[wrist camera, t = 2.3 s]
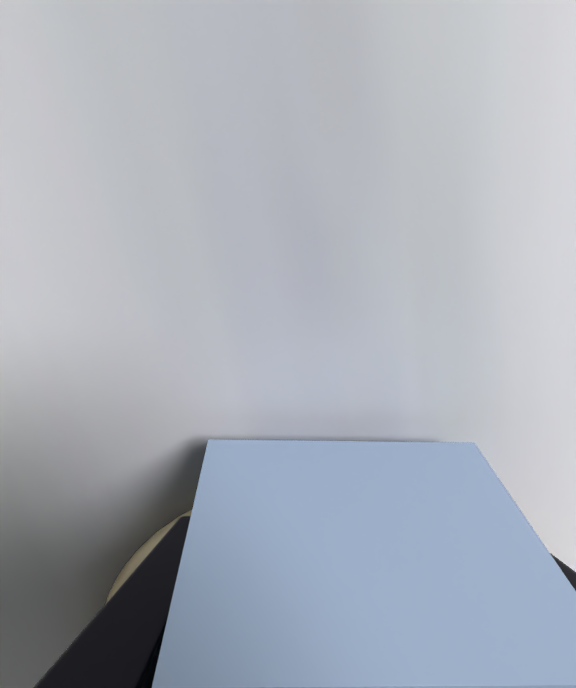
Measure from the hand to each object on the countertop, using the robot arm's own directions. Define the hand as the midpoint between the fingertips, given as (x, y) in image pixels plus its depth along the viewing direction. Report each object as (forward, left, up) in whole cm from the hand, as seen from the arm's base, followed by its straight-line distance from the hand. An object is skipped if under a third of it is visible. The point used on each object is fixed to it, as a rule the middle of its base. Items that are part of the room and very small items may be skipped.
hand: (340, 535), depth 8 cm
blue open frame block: (-4, 0, -1) cm, 4 cm away
